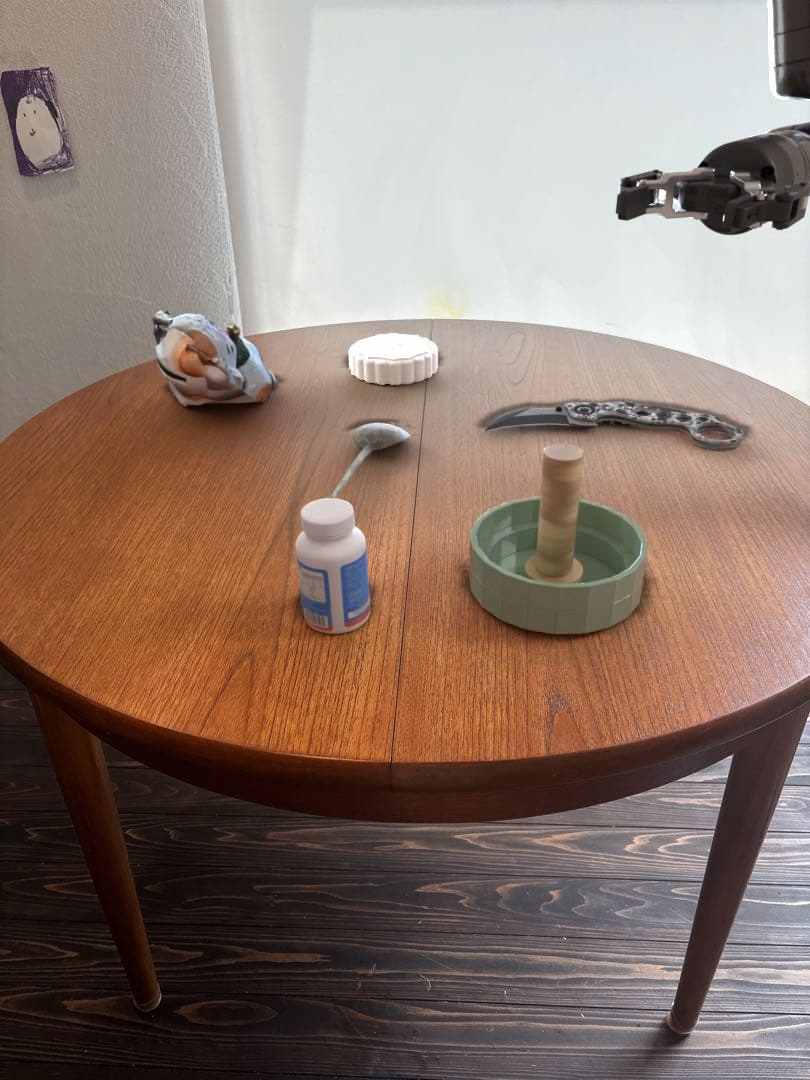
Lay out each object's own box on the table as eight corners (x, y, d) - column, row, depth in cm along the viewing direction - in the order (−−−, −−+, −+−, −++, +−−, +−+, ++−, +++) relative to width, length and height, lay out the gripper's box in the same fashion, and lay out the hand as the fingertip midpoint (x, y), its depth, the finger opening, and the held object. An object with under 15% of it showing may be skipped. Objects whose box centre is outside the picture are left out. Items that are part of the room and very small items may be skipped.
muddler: (575, 566, 74) (588, 438, 68) (587, 598, 70) (601, 465, 64) (519, 567, 74) (527, 439, 68) (528, 600, 70) (536, 466, 64)
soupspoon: (418, 441, 99) (365, 437, 101) (417, 413, 98) (362, 410, 100) (351, 529, 81) (287, 522, 83) (348, 496, 79) (283, 490, 81)
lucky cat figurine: (296, 396, 110) (265, 317, 98) (220, 452, 107) (178, 377, 95) (232, 337, 117) (195, 256, 105) (159, 388, 114) (113, 311, 102)
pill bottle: (366, 593, 72) (360, 489, 67) (375, 631, 68) (369, 524, 63) (300, 600, 72) (289, 496, 67) (305, 640, 67) (294, 531, 62)
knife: (483, 426, 98) (495, 389, 106) (483, 438, 99) (495, 401, 107) (747, 448, 92) (739, 407, 100) (744, 461, 93) (736, 419, 101)
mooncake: (441, 384, 113) (441, 358, 111) (348, 387, 112) (347, 361, 110) (435, 354, 123) (434, 329, 121) (350, 356, 123) (349, 331, 121)
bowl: (618, 543, 78) (624, 494, 76) (659, 638, 66) (668, 584, 64) (463, 547, 78) (464, 498, 76) (477, 643, 66) (479, 589, 64)
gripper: (681, 131, 79) (594, 152, 68) (846, 141, 71) (778, 166, 60) (669, 218, 83) (586, 250, 72) (825, 236, 75) (757, 276, 64)
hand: (673, 212), depth 66 cm, fingers open, 8 cm apart
